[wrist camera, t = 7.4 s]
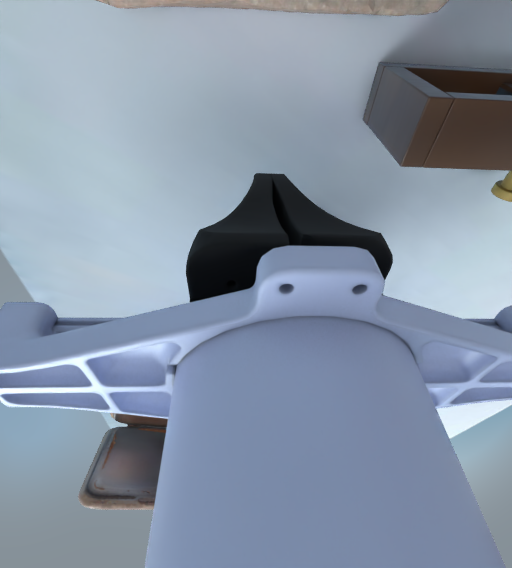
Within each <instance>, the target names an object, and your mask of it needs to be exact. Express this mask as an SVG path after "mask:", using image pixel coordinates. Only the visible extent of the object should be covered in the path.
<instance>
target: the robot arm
mask: <svg viewBox="0 0 512 568" xmlns="http://www.w3.org/2000/svg"><path fill="white" fill-rule="evenodd" d="M392 263H393V257H392V253H391V251H390V249H389V247H388V245H387V243H386V241H385V239H384V238H383V236H382V235H381V233H378V232H374V231H371V230H367V229H363V228H360V227H357V226H355V225H352V224H349V223H347V222H345V221H342V220H340V219H338V218H336V217H334V216H332V215H331V214H329V213H327V212H325V211H324V210H322V209H321V208H319V207H318V206H317V205H315V204H314V203H313V202H311V201H310V200H309V199H308V198H307V197H306V196H304V195H303V194H302V193H301V192H300V191H299V190H298V189H297V188H296V187H295V186H294V185H293V183H292V182H291V181H290V180H289V179H288V178H287V177H286V176H285V175H284V174H265V173H256V174H255V175H254V180H253V183H252V185H251V187H250V189H249V191H248V193H247V195H246V196H245V197H244V199H243V200H242V202H241V203H240V204H239V205H238V207H237V208H236V209H235V210H234V211H233V212H232V213H231V214H229V215H228V216H227V217H226V218H224V219H222V220H221V221H219V222H217V223H215V224H213V225H211V226H208V227H206V228H203V229H200V230H199V231H198V233H197V235H196V237H195V239H194V241H193V244H192V246H191V249H190V252H189V255H188V260H187V265H186V276H187V283H188V289H189V295H190V303H186V304H182V305H177V306H173V307H169V308H165V309H160V310H156V311H152V312H148V313H143V314H139V315H135V316H131V317H126V318H58V317H57V315H56V313H55V311H54V310H53V309H52V308H51V307H50V306H49V305H47V304H44V303H39V302H7V303H5V304H4V305H3V306H2V308H1V309H0V402H2V403H3V404H5V405H6V406H8V407H48V408H68V409H80V410H90V411H100V412H109V413H118V414H128V415H137V416H147V417H156V418H166V419H168V423H167V429H166V435H165V441H164V448H163V454H162V460H161V466H160V473H159V479H158V485H157V492H156V498H155V504H154V510H153V517H152V523H151V529H150V536H149V542H148V549H147V554H146V561H145V567H144V568H506V567H505V564H504V562H503V560H502V558H501V555H500V553H499V551H498V549H497V546H496V544H495V542H494V539H493V537H492V535H491V533H490V530H489V528H488V526H487V523H486V521H485V519H484V517H483V514H482V512H481V510H480V507H479V505H478V503H477V501H476V498H475V496H474V494H473V492H472V489H471V487H470V485H469V482H468V480H467V478H466V476H465V473H464V471H463V469H462V467H461V464H460V462H459V460H458V457H457V455H456V453H455V451H454V449H453V446H452V444H451V442H450V439H449V437H448V435H447V433H446V430H445V428H444V426H443V423H442V421H441V419H440V417H439V414H438V412H437V410H436V409H437V408H444V407H451V406H458V405H465V404H473V403H482V402H490V401H502V400H512V306H508V307H506V308H504V309H503V310H501V311H500V312H499V313H498V314H497V316H496V317H495V318H494V319H462V318H458V317H455V316H451V315H448V314H445V313H441V312H438V311H435V310H431V309H428V308H424V307H421V306H418V305H414V304H411V303H408V302H404V301H401V300H397V299H394V298H391V297H387V296H384V295H383V290H384V283H385V279H386V277H387V275H388V273H389V271H390V269H391V266H392Z"/></svg>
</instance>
